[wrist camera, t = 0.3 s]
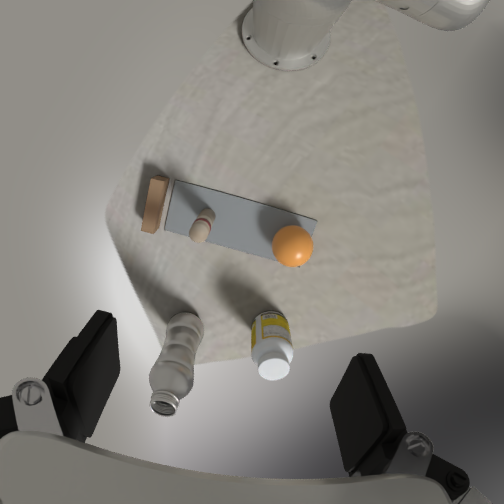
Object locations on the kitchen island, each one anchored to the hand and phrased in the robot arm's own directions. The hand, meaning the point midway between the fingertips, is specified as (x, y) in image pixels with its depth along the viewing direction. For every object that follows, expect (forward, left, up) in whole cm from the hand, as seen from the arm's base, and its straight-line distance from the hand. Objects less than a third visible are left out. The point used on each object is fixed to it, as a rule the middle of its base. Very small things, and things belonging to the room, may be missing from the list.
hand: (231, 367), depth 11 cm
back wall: (+5, -13, -36) cm, 38 cm away
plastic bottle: (+25, -4, -36) cm, 44 cm away
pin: (+5, -5, -36) cm, 36 cm away
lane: (+5, 0, -36) cm, 36 cm away
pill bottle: (+21, +10, -36) cm, 43 cm away
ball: (+5, +8, -33) cm, 34 cm away
